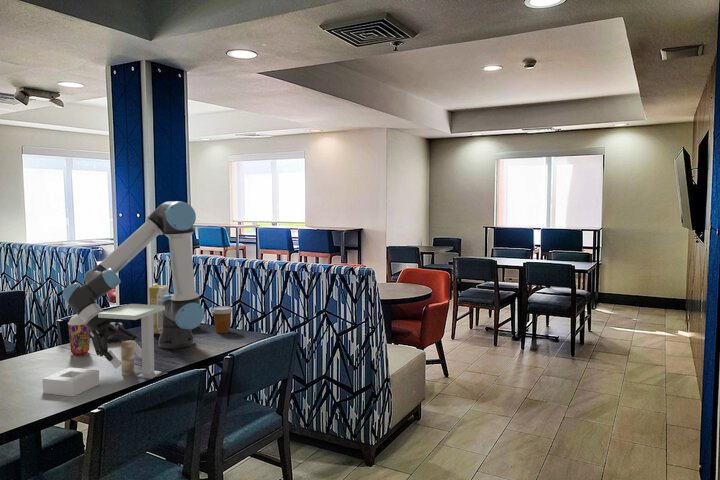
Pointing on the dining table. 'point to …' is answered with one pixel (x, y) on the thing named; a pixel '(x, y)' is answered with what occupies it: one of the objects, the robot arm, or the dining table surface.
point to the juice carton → (156, 299)
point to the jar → (114, 340)
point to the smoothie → (78, 336)
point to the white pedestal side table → (146, 331)
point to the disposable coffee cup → (222, 318)
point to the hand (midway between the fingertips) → (131, 360)
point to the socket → (70, 381)
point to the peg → (127, 357)
